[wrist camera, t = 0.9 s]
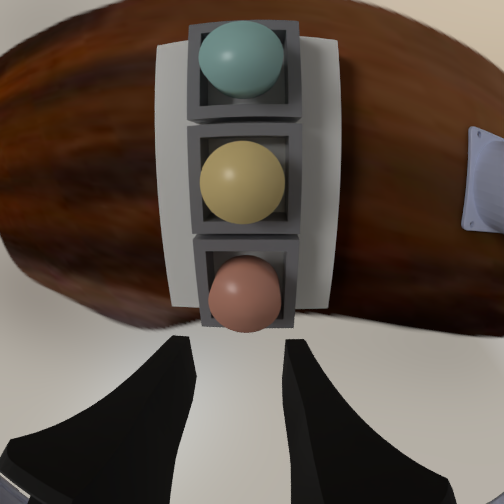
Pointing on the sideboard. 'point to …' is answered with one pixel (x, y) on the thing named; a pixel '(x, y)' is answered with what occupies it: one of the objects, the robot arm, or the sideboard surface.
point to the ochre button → (242, 182)
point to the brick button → (245, 294)
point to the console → (271, 137)
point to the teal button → (241, 59)
